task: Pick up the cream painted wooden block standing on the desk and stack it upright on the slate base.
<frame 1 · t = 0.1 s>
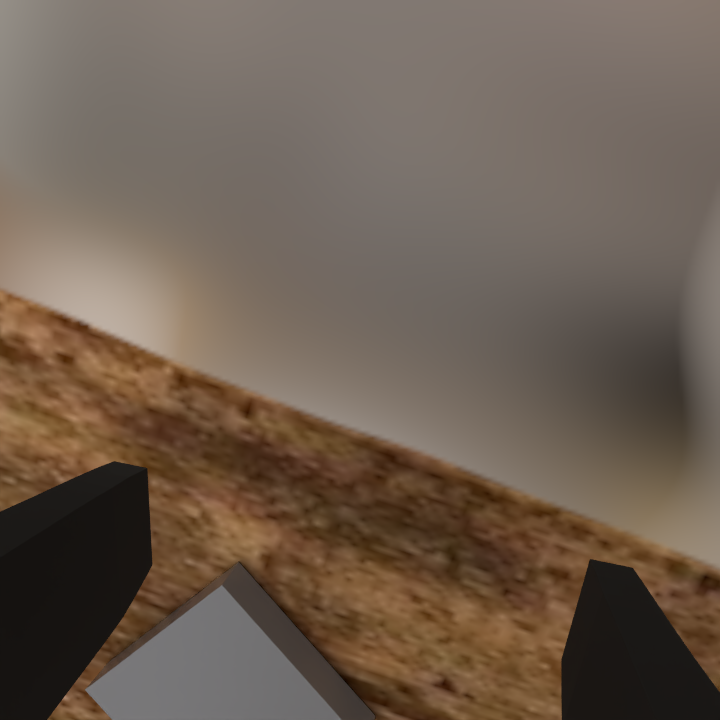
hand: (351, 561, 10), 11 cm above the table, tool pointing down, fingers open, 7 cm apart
slate base: (236, 688, 24), on the table
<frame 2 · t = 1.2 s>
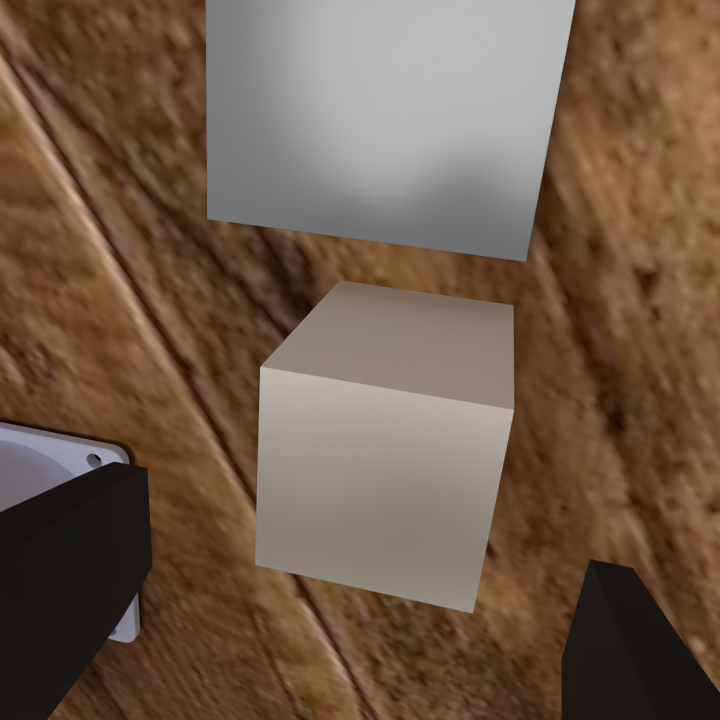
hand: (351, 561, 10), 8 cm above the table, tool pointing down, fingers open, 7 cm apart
slate base: (388, 63, 15), on the table
cream block: (414, 371, 18), on the table
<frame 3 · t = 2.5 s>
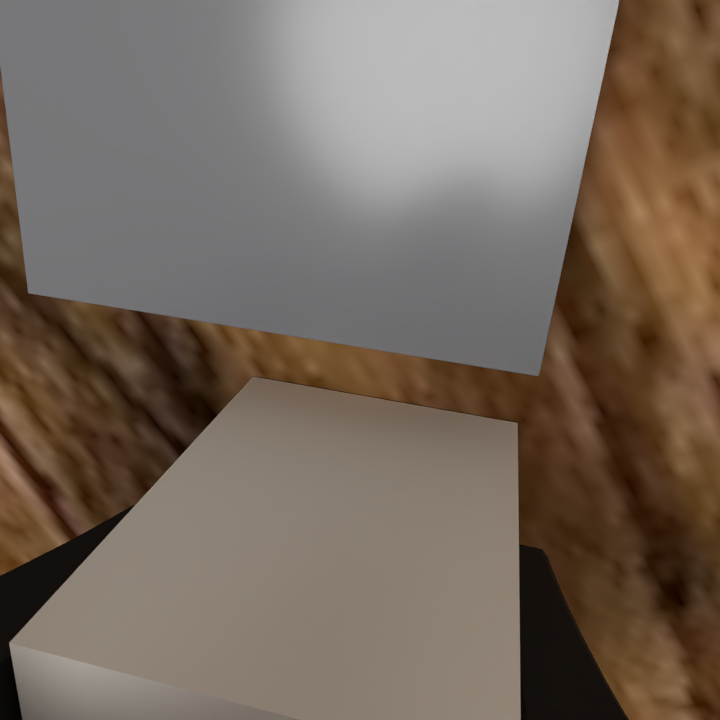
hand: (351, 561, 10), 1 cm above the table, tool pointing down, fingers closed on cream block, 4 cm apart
slate base: (311, 42, 9), on the table
cream block: (368, 509, 12), on the table, touching gripper
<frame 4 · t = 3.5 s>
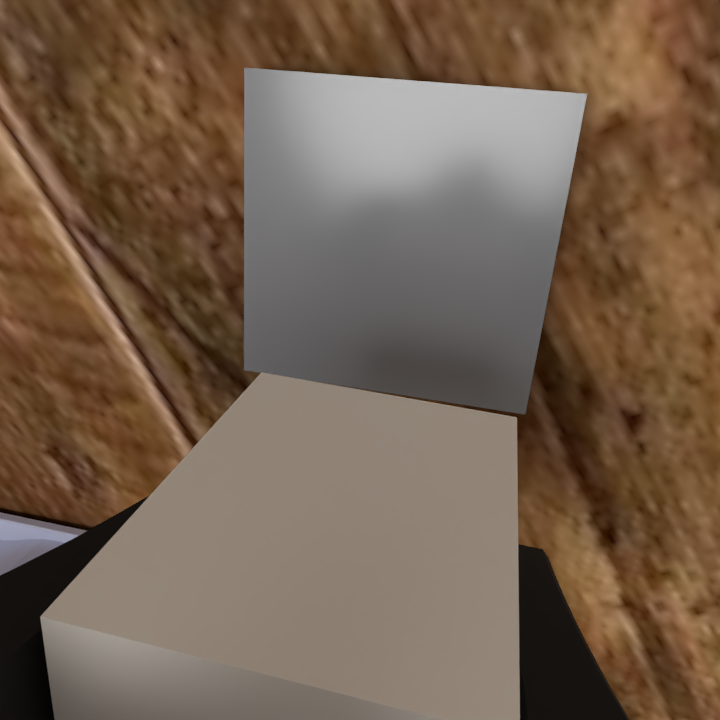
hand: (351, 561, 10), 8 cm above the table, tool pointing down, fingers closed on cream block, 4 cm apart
slate base: (402, 237, 17), on the table
cream block: (372, 502, 12), point 7 cm above the table, touching gripper
when the fingers open (4 cm above the table, at t = 5.0 s): cream block stays where it is, resting on slate base.
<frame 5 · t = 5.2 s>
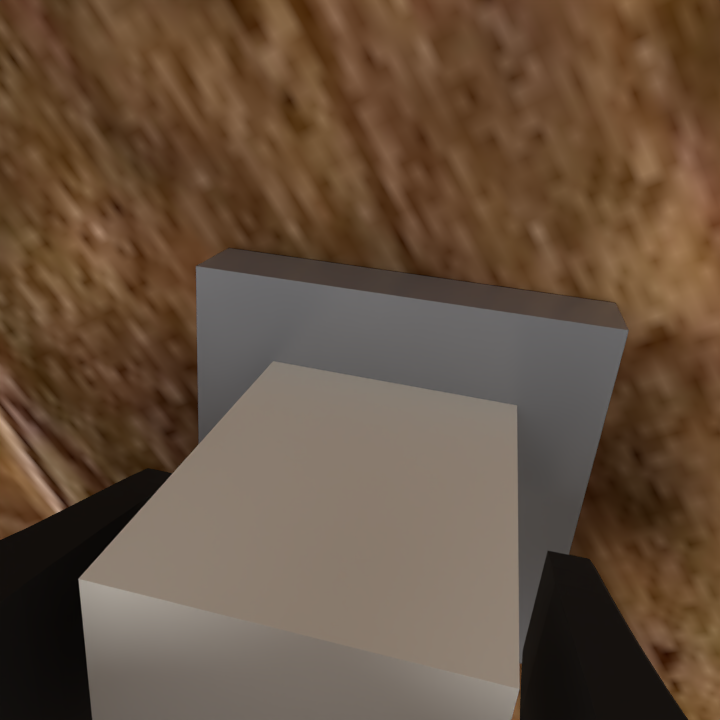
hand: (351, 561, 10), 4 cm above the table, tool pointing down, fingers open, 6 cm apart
slate base: (392, 442, 14), on the table
cream block: (378, 486, 13), point 1 cm above the table, touching slate base
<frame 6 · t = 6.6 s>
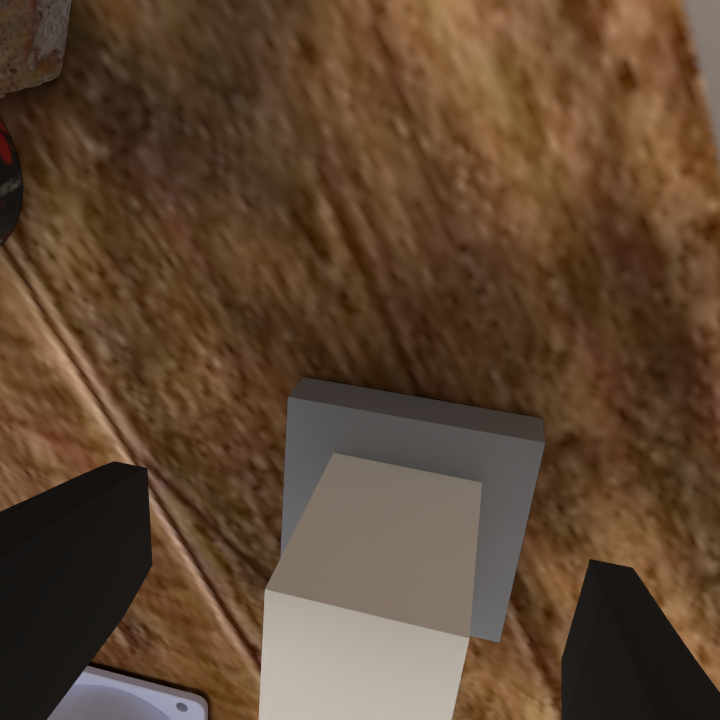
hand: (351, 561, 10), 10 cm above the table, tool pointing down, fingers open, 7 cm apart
slate base: (405, 497, 22), on the table
cream block: (397, 528, 20), point 1 cm above the table, touching slate base
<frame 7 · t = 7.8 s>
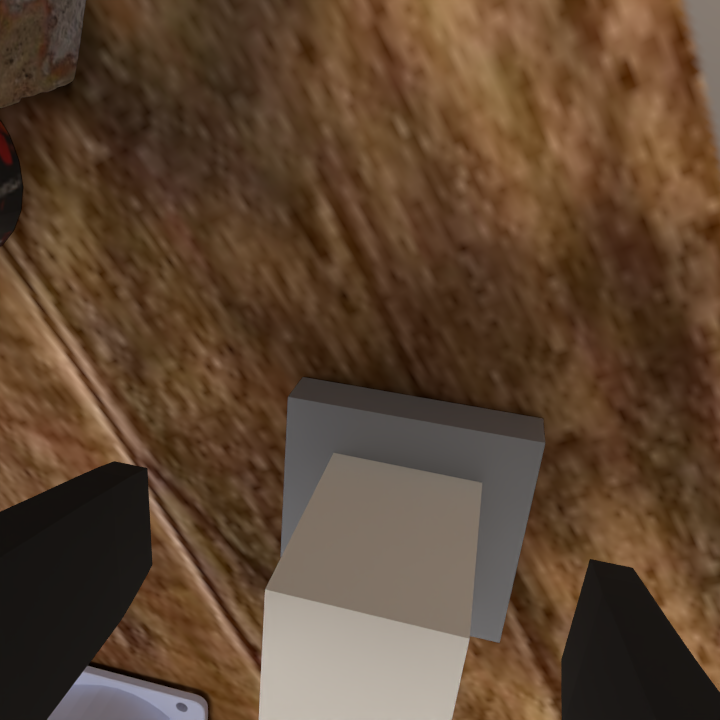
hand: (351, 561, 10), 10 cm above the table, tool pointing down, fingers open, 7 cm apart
slate base: (405, 497, 22), on the table
cream block: (397, 528, 20), point 1 cm above the table, touching slate base
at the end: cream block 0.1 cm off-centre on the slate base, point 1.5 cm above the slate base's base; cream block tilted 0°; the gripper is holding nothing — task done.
